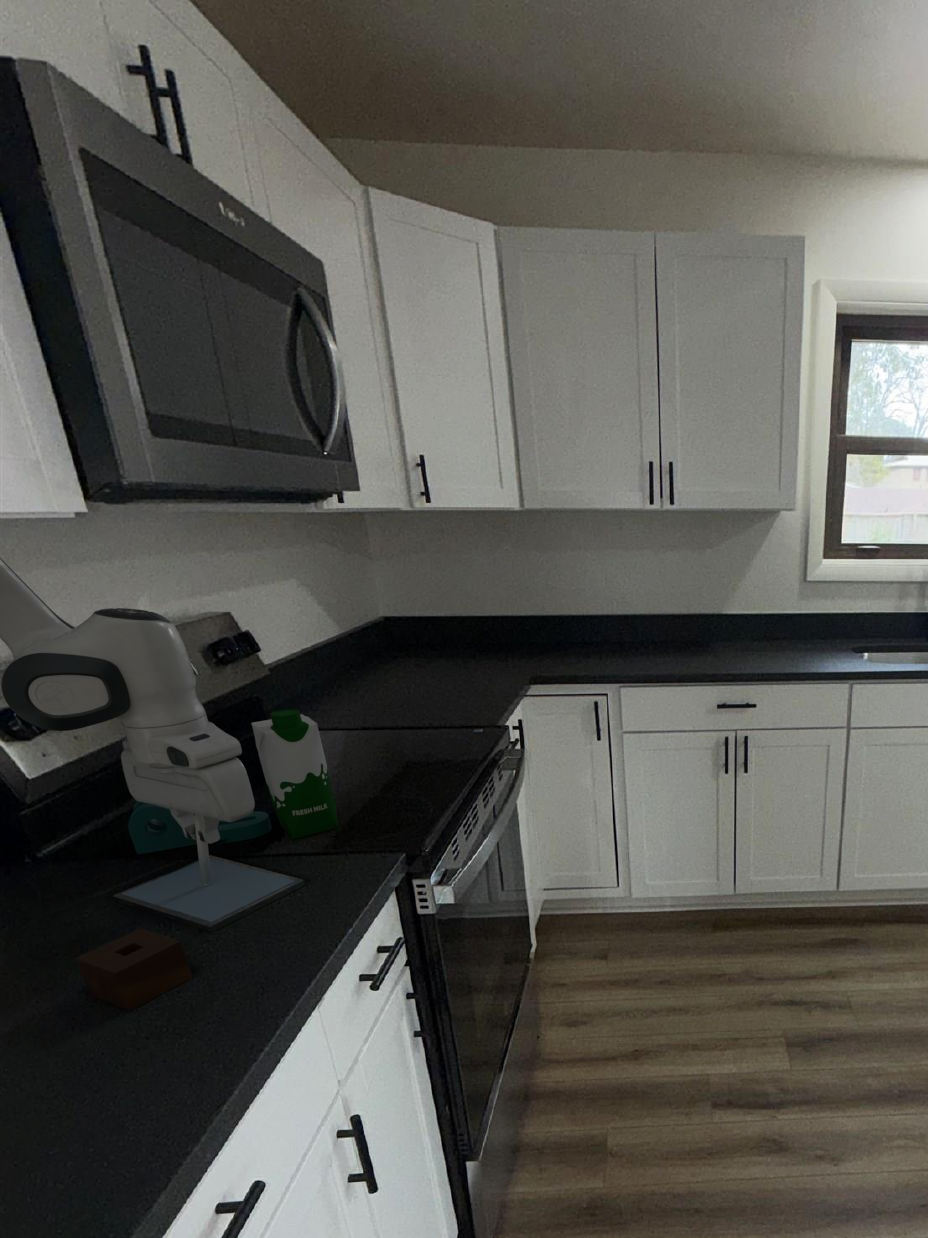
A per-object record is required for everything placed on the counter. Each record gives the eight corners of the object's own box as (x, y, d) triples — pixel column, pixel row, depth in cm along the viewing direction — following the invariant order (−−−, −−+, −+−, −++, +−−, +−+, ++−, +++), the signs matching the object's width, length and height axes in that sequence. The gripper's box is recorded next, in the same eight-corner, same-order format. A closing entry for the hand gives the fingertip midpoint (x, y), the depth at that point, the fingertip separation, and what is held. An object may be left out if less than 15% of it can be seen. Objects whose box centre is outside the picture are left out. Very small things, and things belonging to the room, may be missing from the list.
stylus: (199, 885, 108) (191, 811, 101) (207, 881, 109) (200, 808, 102) (205, 889, 107) (198, 815, 101) (213, 885, 108) (207, 812, 102)
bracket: (138, 858, 118) (121, 811, 115) (143, 842, 123) (127, 796, 120) (272, 835, 126) (259, 789, 122) (271, 820, 131) (259, 777, 128)
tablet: (114, 901, 106) (112, 895, 105) (212, 860, 117) (210, 854, 117) (211, 932, 99) (209, 925, 98) (305, 885, 110) (304, 879, 110)
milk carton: (289, 843, 123) (257, 720, 115) (273, 826, 129) (241, 709, 121) (346, 828, 128) (319, 710, 120) (328, 812, 134) (301, 699, 126)
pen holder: (90, 995, 86) (74, 958, 84) (154, 963, 92) (141, 927, 90) (130, 1011, 84) (114, 973, 82) (193, 977, 90) (180, 940, 87)
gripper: (94, 737, 99) (130, 835, 105) (200, 758, 92) (232, 862, 98) (145, 725, 104) (176, 819, 110) (249, 743, 97) (276, 842, 103)
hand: (203, 839), depth 104 cm, fingers closed on stylus
